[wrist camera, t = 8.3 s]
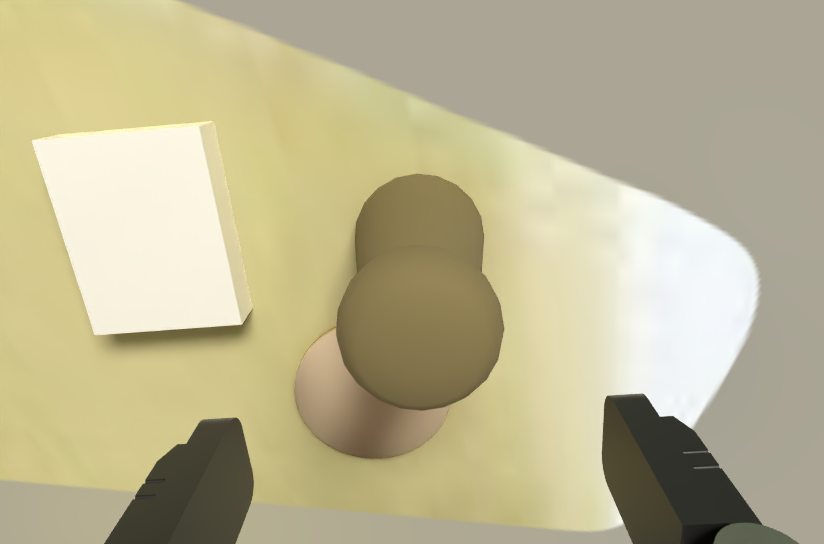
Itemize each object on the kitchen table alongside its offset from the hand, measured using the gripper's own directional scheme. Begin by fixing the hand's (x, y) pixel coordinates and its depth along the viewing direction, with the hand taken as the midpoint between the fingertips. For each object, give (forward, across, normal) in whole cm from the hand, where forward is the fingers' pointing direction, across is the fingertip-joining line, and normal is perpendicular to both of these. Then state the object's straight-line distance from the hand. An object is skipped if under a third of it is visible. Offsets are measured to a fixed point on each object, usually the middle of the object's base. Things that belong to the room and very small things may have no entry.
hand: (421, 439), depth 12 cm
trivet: (+15, +3, +8) cm, 17 cm away
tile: (+14, +12, +3) cm, 19 cm away
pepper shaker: (+15, 0, 0) cm, 15 cm away
